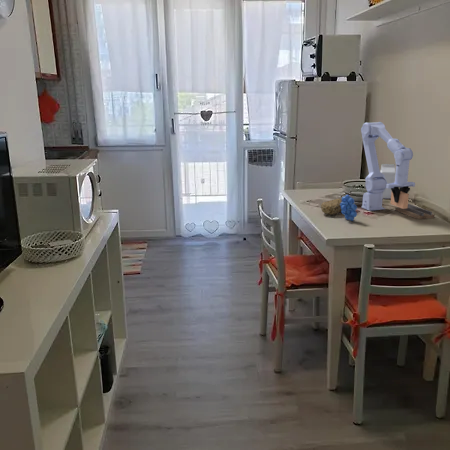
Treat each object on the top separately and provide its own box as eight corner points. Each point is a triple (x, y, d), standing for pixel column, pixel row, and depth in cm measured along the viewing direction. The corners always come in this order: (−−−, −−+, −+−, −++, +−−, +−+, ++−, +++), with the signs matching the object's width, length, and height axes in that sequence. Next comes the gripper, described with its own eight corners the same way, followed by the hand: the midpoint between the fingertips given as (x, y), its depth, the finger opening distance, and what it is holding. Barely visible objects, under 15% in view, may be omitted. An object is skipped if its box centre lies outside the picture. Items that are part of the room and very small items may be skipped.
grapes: (332, 217, 225) (334, 193, 222) (344, 216, 228) (345, 192, 224) (347, 224, 215) (349, 198, 212) (359, 222, 217) (361, 197, 214)
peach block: (403, 208, 220) (404, 194, 218) (390, 203, 229) (391, 190, 227) (407, 208, 221) (408, 194, 219) (394, 203, 230) (395, 189, 228)
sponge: (342, 209, 246) (311, 206, 237) (347, 196, 243) (316, 192, 234) (357, 220, 235) (325, 216, 226) (362, 206, 232) (330, 202, 223)
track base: (418, 219, 220) (418, 213, 220) (395, 210, 237) (395, 204, 236) (434, 217, 223) (435, 211, 222) (410, 208, 239) (410, 203, 238)
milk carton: (392, 198, 261) (395, 165, 256) (379, 198, 263) (382, 165, 257) (391, 196, 268) (393, 163, 263) (378, 195, 269) (380, 163, 264)
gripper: (393, 176, 215) (390, 205, 219) (420, 174, 219) (417, 202, 223) (384, 174, 222) (382, 201, 225) (410, 172, 225) (408, 199, 229)
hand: (399, 202), depth 224 cm, fingers closed on peach block, 2 cm apart
